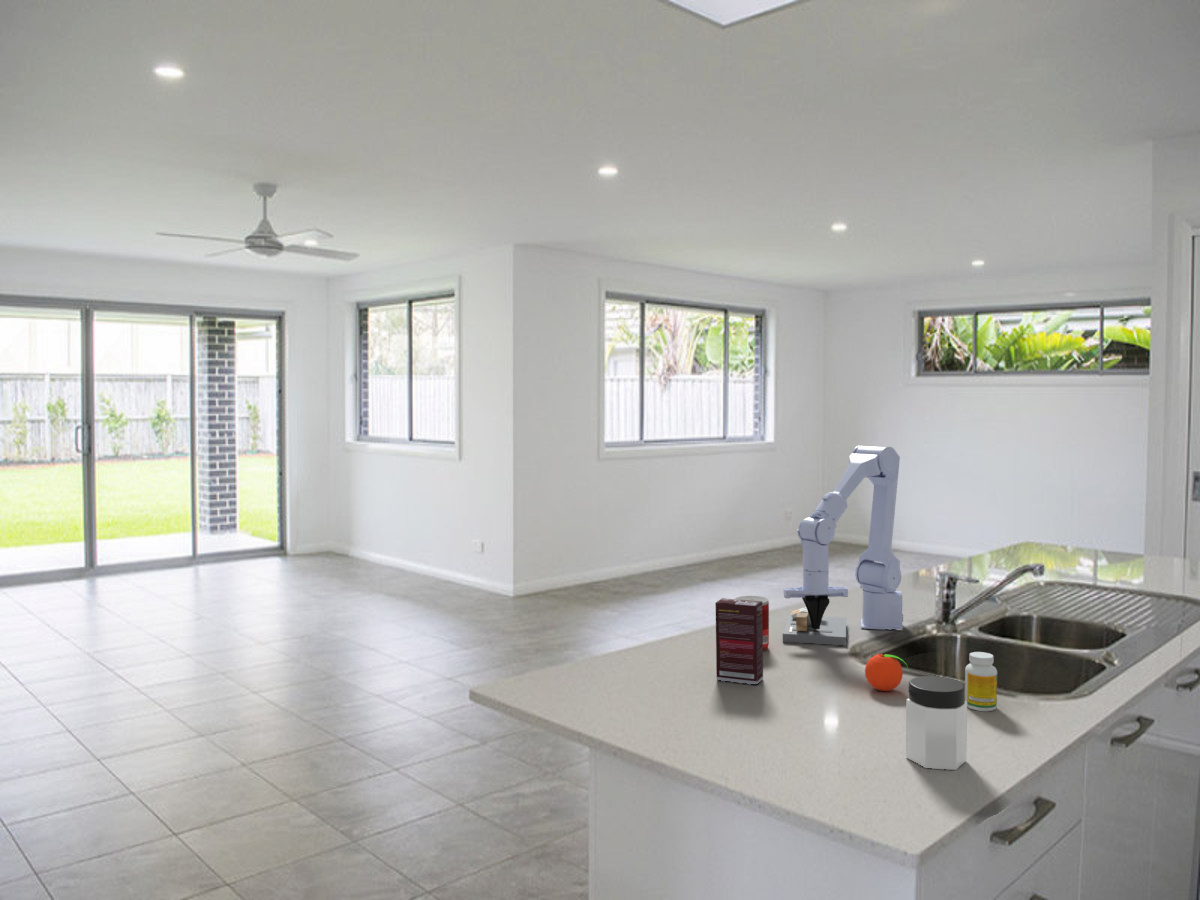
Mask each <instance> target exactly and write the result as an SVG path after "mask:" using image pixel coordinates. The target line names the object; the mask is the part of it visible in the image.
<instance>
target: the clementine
mask: <svg viewBox="0 0 1200 900" xmlns="http://www.w3.org/2000/svg"><path fill="white" fill-rule="evenodd" d="M898 660H900V661H902V662H903V664H905V665H906V667H907V668H909V667H908V664H907V663H906V662H905V661H904V660H903V659H902V658H900V657H899V656H897V655H893V654H886V653H878V654H875V655H874V656H872V657H870V658H869V659H868V661H867V662H866V665H865V668H864V673H865V678H866V680H867V682H868V683H869V685H870V686H871V687H873V688H874V689H875V690H879V691H882V692H889V691H893V690H894V689H896V688H897V687H898V686H899V685H900V684H901V682H902V680H903V675H904V673H903V668H902V665H901V663H900V662H899V661H898Z"/></svg>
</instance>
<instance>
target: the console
mask: <svg viewBox="0 0 1200 900" xmlns="http://www.w3.org/2000/svg"><path fill="white" fill-rule="evenodd" d="M783 628H784V629H783V631H782V643H786V642H799V643H798V644H803V643H815V644H814V645H820V644H832V645H831V646H838V645H846V646H847V617H846V616H830V615H829V616H827V615H825V616H824V615H823V617H822V620H821V624H820V629H813V628H812V626H809V625H808V628H807V631H796V618H792V616H791V613H790V614H787V616H786V621H785V625H784V627H783Z"/></svg>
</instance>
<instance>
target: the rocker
mask: <svg viewBox="0 0 1200 900" xmlns="http://www.w3.org/2000/svg"><path fill="white" fill-rule="evenodd" d="M804 608H806V606H805V607H802V608H801V607H800V608H798V609H795V610H792V611H791V613H790V615H791V616H792V618H796V616H797V613H803V612H804Z"/></svg>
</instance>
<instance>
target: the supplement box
mask: <svg viewBox="0 0 1200 900" xmlns="http://www.w3.org/2000/svg"><path fill="white" fill-rule="evenodd" d="M714 605H715V652H716V653H715V655H716V658H715V659H716V681H717V680H721V681H720V682H725V681H731V682H730V683H733V682H740V683H739V684H742V683H747V684H746V685H751V684H758V683H759V682H760V681H761V680H762V681H763V679H764V651H763V619H762V601H750V600H737V599H735V598H725V597H722V598H720V599H718V600H717V601H716V602H715V604H714ZM762 681H761V682H762ZM761 682H760V683H761ZM760 683H759V684H760ZM759 684H758V685H759Z"/></svg>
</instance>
